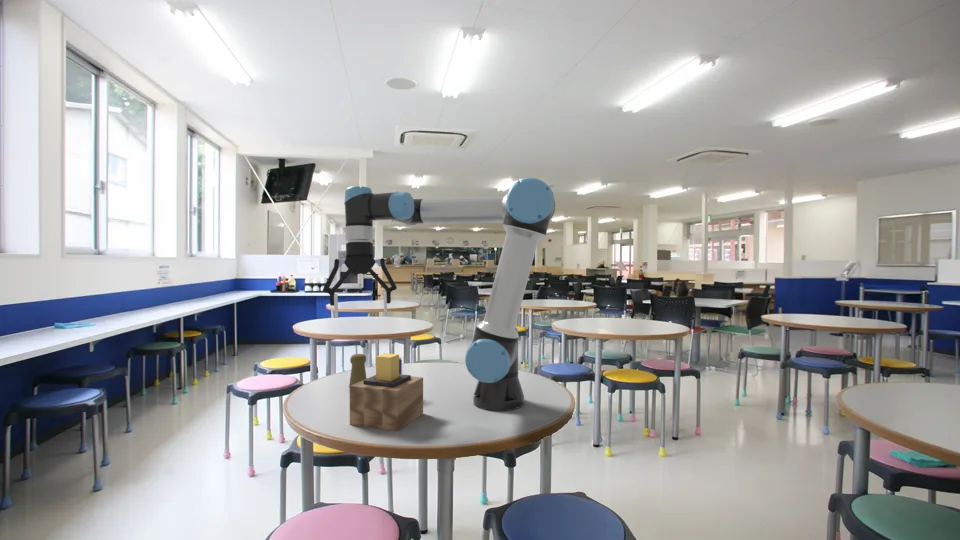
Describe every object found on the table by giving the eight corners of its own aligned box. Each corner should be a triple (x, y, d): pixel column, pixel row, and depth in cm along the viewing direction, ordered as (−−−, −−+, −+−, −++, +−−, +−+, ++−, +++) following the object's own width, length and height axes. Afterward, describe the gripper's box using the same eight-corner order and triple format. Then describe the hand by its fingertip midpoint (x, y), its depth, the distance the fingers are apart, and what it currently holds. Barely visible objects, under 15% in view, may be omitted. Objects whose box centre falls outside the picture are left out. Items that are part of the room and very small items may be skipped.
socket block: (423, 413, 122) (423, 373, 122) (397, 431, 109) (397, 387, 109) (379, 408, 127) (379, 369, 127) (349, 424, 114) (349, 382, 114)
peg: (399, 387, 119) (399, 354, 119) (390, 392, 115) (390, 357, 115) (384, 386, 121) (384, 353, 121) (376, 390, 117) (375, 356, 117)
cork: (348, 385, 151) (348, 353, 151) (367, 383, 153) (366, 352, 153) (349, 389, 146) (349, 356, 145) (368, 388, 147) (367, 355, 147)
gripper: (402, 242, 133) (404, 312, 133) (314, 242, 127) (316, 316, 127) (404, 240, 125) (406, 315, 125) (311, 241, 119) (313, 319, 119)
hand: (361, 316), depth 126 cm, fingers open, 13 cm apart
